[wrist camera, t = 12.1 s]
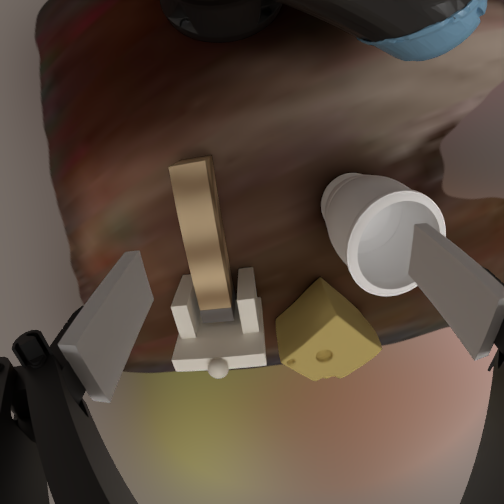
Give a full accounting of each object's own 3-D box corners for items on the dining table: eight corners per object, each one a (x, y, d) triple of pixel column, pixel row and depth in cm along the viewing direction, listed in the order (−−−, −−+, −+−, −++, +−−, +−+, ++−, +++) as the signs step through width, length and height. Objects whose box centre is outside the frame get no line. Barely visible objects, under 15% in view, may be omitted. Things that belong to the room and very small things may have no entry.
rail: (179, 160, 36) (167, 167, 30) (212, 154, 35) (205, 160, 30) (207, 298, 44) (202, 323, 38) (235, 295, 44) (234, 320, 38)
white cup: (322, 248, 41) (356, 311, 27) (303, 176, 37) (336, 209, 23) (390, 227, 40) (447, 277, 26) (378, 156, 36) (443, 178, 22)
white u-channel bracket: (179, 275, 42) (154, 338, 29) (256, 266, 42) (260, 330, 29) (190, 316, 45) (173, 384, 32) (262, 309, 45) (267, 378, 32)
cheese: (316, 349, 48) (328, 393, 39) (270, 317, 45) (275, 363, 36) (363, 309, 45) (385, 349, 36) (319, 271, 42) (337, 311, 33)
